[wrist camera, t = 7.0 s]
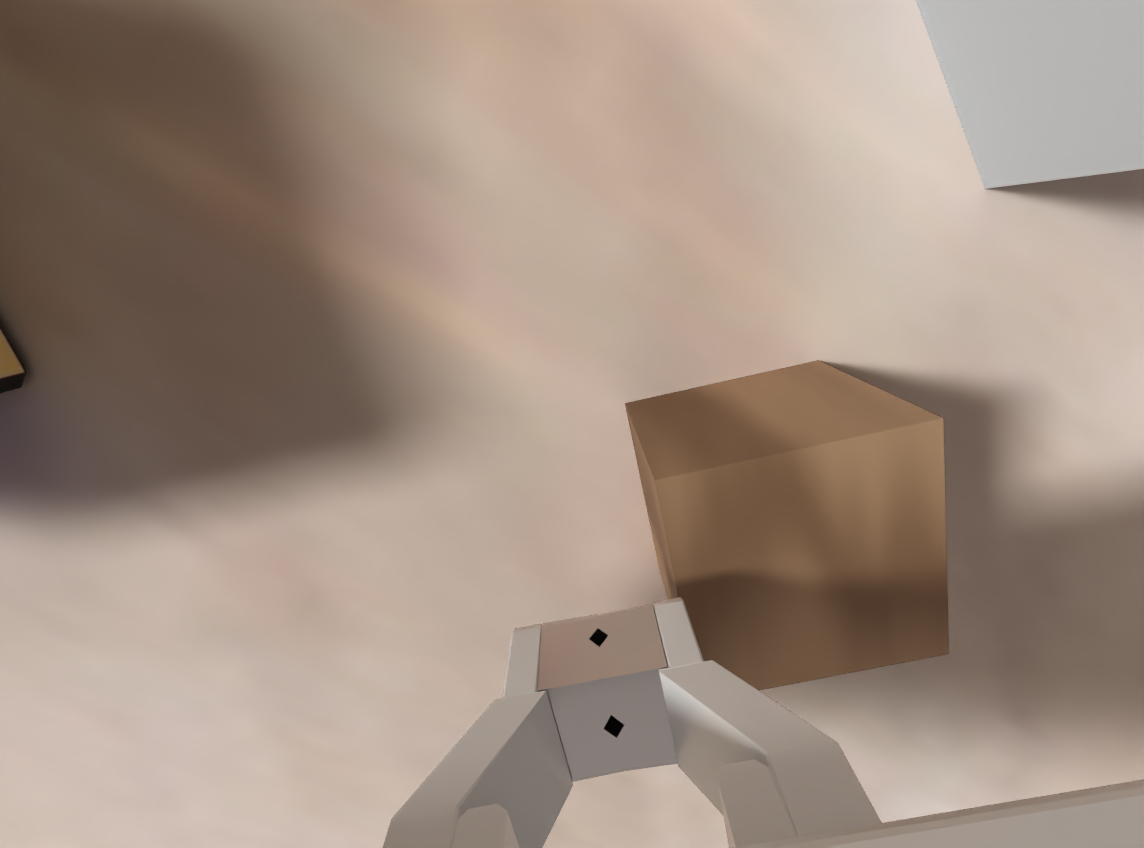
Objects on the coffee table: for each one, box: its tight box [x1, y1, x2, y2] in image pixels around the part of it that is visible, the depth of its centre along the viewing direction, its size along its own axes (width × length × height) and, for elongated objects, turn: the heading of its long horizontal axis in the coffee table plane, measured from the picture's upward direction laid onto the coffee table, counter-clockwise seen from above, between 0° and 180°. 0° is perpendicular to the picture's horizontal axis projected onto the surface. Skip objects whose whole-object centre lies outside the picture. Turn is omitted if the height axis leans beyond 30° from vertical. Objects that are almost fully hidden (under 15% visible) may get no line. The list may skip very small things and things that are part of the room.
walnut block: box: [625, 361, 949, 690], centre depth 13 cm, size 5×5×5 cm
